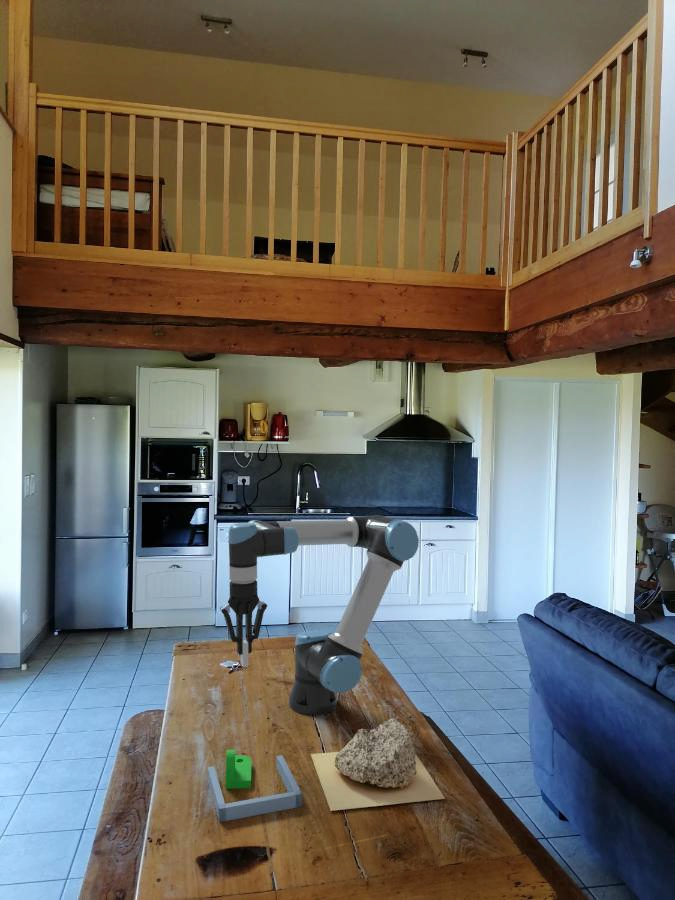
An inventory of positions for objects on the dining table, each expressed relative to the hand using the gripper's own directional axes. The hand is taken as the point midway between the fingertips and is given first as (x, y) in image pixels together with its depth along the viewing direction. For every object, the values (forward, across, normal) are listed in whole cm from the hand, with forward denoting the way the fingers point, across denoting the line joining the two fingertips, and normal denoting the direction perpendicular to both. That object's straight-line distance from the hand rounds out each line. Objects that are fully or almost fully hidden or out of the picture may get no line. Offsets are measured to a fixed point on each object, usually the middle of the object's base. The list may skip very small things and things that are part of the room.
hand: (244, 665), depth 173 cm
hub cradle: (+22, +4, +23) cm, 32 cm away
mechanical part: (+22, +6, +15) cm, 27 cm away
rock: (+27, -26, +25) cm, 45 cm away
